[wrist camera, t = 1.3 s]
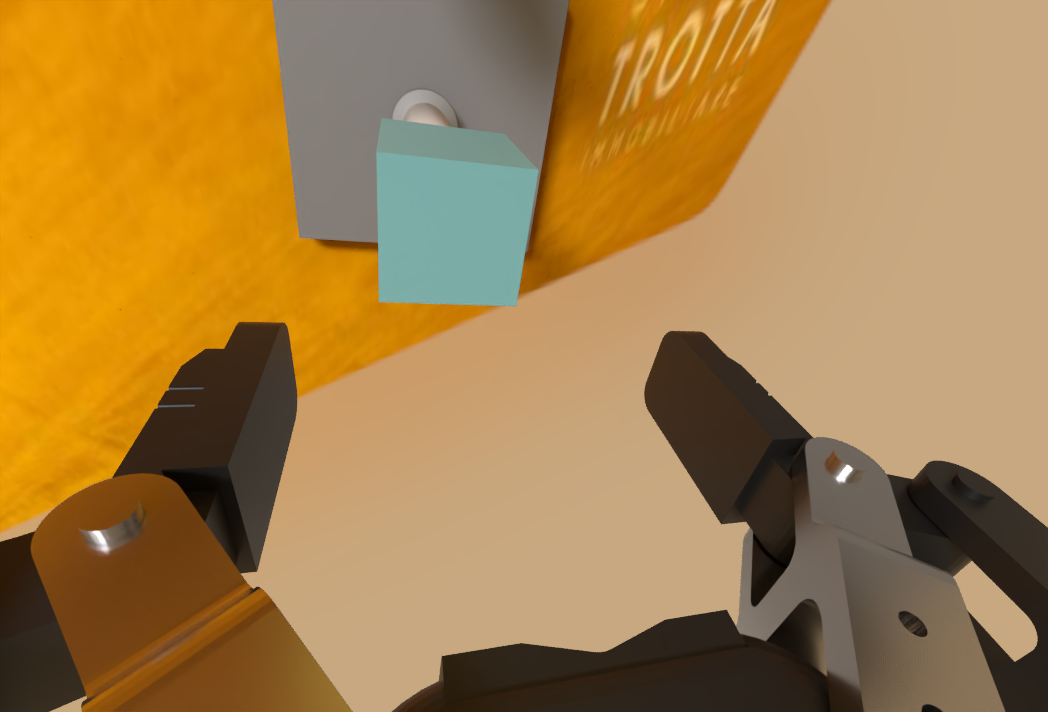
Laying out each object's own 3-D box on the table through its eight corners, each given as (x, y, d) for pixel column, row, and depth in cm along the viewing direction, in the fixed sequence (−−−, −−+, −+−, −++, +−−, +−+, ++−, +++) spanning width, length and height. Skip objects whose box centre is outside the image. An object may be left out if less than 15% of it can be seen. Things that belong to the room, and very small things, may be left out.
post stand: (271, -71, 28) (136, -168, 13) (562, -8, 32) (693, -28, 18) (303, 228, 37) (246, 358, 23) (522, 243, 42) (587, 358, 28)
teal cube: (381, 118, 19) (376, 151, 14) (504, 133, 20) (538, 169, 15) (383, 238, 21) (379, 301, 17) (491, 245, 23) (516, 306, 18)
